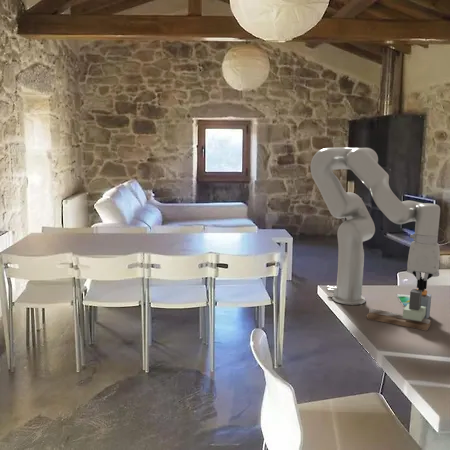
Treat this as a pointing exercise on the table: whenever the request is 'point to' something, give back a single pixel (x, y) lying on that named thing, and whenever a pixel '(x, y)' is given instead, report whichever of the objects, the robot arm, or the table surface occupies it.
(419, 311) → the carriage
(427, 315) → the cabinet
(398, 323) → the rail board
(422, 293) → the plunger
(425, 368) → the table surface
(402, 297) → the smartphone
